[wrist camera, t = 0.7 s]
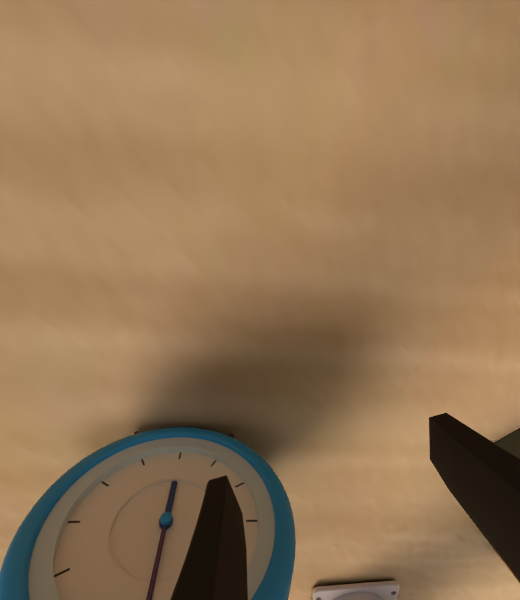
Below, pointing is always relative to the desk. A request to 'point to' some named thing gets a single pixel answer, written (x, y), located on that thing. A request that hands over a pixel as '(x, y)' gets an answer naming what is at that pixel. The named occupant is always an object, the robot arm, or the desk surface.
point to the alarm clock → (147, 521)
